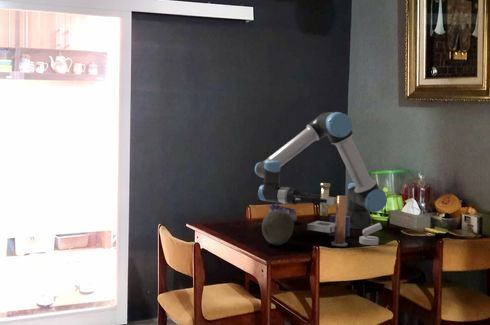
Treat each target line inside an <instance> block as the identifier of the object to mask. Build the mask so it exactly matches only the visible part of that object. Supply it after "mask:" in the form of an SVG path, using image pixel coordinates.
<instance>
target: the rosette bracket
mask: <svg viewBox="0 0 490 325" xmlns="http://www.w3.org/2000/svg"><path fill="white" fill-rule="evenodd" d="M347 197H348V195H347V196H346V195H336V198H337V200H336V204H335V208H336V209H335V214H336V223H330V222H329V221H323V220H321V221H320V220H316V221H313V222H311V223H307V229H306V230H307V231H313V232H320V233H321V232H322V233H327V234H329V233H331V232H335V236H334V241H331V246H333V247H337V248H338V247H339V248H345V247H348V242H346V240H345V239H346V237H345V224H346V212H347Z"/></svg>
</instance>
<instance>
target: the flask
mask: <svg viewBox="0 0 490 325" xmlns="http://www.w3.org/2000/svg"><path fill="white" fill-rule="evenodd" d="M328 222H330V223H336V213H334V214H330V215H329V221H328ZM350 230H351V228H350V217H349V216H346V224H345V238H346V237H350ZM328 236H330V237H331V236H332V237H335V232H331V233H328Z"/></svg>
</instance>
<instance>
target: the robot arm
mask: <svg viewBox="0 0 490 325" xmlns="http://www.w3.org/2000/svg"><path fill="white" fill-rule="evenodd" d="M352 126H353V123H352V120H351V119H350V117H349V115H347V114H346V113H343V112H339V111H333V112H332V111H326V112H322V113H321V114H319V115H318V116H317V117H316V118H314V119H312V121H310V122H309V123H308V124H306V128H305V129H303V130H302V131H301V132H299V133H298V134H297V135H295V137H293V138H292V139H290V140H289V141H288V142H286V144H284V145H282V146H281V147H279V149H278V150H276V151H274V153H272V154H271V155H270V156H268V157H267V158H266V159H265V160H263V161H259V162H257V163H256V164H255V166H254V172H255V174H256V175H257V176H258V177H260V178H261V179H263V184H261V185H260V186H259V188H258V191H257V195H258V196H257V197H258V199H259V200H261V201H265V202H269V203H271V202H272V203H276V204H277V203H278V204H279V203H280V204H282V205H283V206H284V205H285V204H287V205H295V206H296V205H298V204H299V203H307V204H315V205H316V204H317V205H318V206H319V205H321V204H328V206H330V205H331V206H334V205H336V200H337V197H334V196H329V198H323V197H321V194H314V193H306V192H300V190H299V188H295V187H288V186H287V187H286V186H285V187H284V186H280V182H281V178H280V177H281V167H283V166H284V165H285V164H287V162H289V161H291V160H292V159H293V158H294V157H296V156H298V154H300V153H301V152H302V151H304V149H306V148H308V146H310V145H311V144H313V143H314V142H315V141H320V140H321V139H322V138H324V137H327V138H328V139H329V142H330V143H331V145H334V146H335V147H336V148H337V151H338V153H339V155H340V158H341V160H342V161H343V163H344V165H345V168H346V169H347V172H348V173H349V176H350V177H351V180H352V182H350V183H349V184H348V186H347V202H346V216H349V217H350V229H355V230H357V229H358V230H364V229H365V228H368V227H370V226H372V225H373V221H372V217H371V216H372V215H371V213H377V212H378V213H379V212H381V211H382V210H383V209H384V208H385V207H386V204H387V201H388V198H387V197H388V195H387V194H386V192H385V191H384V190H383V189H380V187H379V185H378V183H377V181H376V180H374V179H372V178H371V175H370V173H369V171H368V169H367V166H366V165H365V163H364V161H363V159H362V157H361V155H360V154H361V153H360V152H359V150H358V148H357V146H356V143H355V142H354V140H353V135H354V133H353V130H352V128H353V127H352ZM370 212H371V213H370Z"/></svg>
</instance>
